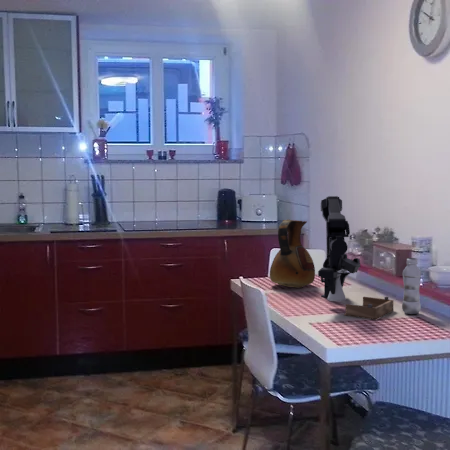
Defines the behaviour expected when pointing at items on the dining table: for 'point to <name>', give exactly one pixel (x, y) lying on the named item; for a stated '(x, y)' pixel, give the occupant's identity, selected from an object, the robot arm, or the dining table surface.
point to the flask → (337, 292)
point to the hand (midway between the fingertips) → (336, 292)
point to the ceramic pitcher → (292, 257)
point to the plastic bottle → (411, 287)
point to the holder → (370, 308)
